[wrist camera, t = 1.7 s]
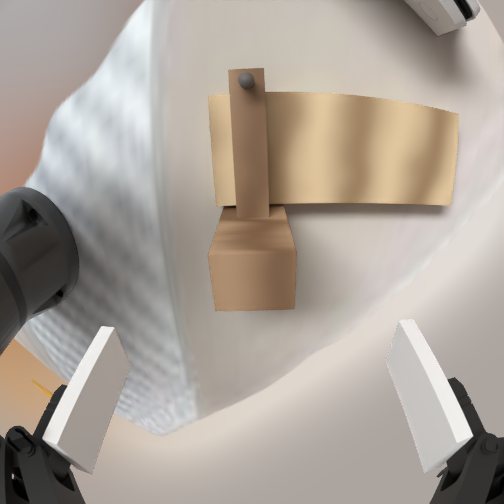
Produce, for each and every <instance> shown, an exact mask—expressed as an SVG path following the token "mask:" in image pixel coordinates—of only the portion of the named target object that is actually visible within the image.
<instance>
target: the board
mask: <svg viewBox="0 0 504 504" xmlns="http://www.w3.org/2000/svg"><path fill="white" fill-rule="evenodd" d="M208 102H209V118H210V133H211V147H212V160H213V173H214V185H215V197H216V206H232V205H236V194H235V179H234V162H233V146H232V129H231V111H230V94H222V95H211V96H208ZM265 104H266V128H267V155H268V186H269V204H291V203H391V204H423V205H446V206H451V200H452V194H453V187H454V179H455V170H456V159H457V146H458V125H459V114H457V113H453V112H449V111H445V110H441V109H437V108H432V107H427V106H423V105H418V104H412V103H407V102H401V101H395V100H388V99H381V98H374V97H365V96H356V95H345V94H332V93H313V92H265Z"/></svg>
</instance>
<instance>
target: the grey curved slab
mask: <svg viewBox="0 0 504 504" xmlns="http://www.w3.org/2000/svg"><path fill="white" fill-rule="evenodd" d="M404 1H405V2H406V3H407V4H408V5H409V6H410V7H411V8H412V9H413V10H414V11H415V12H416V13H417V14H418V15H419V16H420V17H421V19H422V20H423V21H424V22H425V23H426V24H427V25H428V26H429V27H430V28H431V29H432V31H433V32H434V33H435V34H436V35H437V36H439V35H442V34H445V33H447V32H450V31H453V30H456V29H459V28H461V27H464V26H466V24H467V23H466V22H467V21H470V20H472V19H475V17H476V16H477V15H478V13H479V12H480V7H479V4H478V3H477V1H476V0H404Z"/></svg>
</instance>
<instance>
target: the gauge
mask: <svg viewBox="0 0 504 504" xmlns="http://www.w3.org/2000/svg"><path fill="white" fill-rule="evenodd" d="M228 73H229V92H230V111H231V129H232V146H233V162H234V179H235V194H236V205H232V206H224V209H223V212H222V214H221V217H220V220H219V223H218V226H217V229H216V232H215V235H214V238H213V241H212V244H211V247H210V250H209V253H208V260H209V268H210V275H211V283H212V290H213V297H214V304H215V311H252V310H282V309H294V308H295V285H296V256H297V252H296V248H295V245H294V241H293V237H292V234H291V230H290V226H289V223H288V219H287V216H286V212H285V209H284V205H283V204H269V186H268V155H267V128H266V104H265V82H264V68H253V69H235V70H228Z"/></svg>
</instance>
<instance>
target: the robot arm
mask: <svg viewBox="0 0 504 504" xmlns="http://www.w3.org/2000/svg"><path fill="white" fill-rule="evenodd" d="M78 271H79V261H78V253H77V249H76V245H75V241H74V238H73V236H72V233H71V231H70V229H69V227H68V225H67V223H66V221H65V219H64V218H63V216H62V214H61V213H60V212H59V210H58V209H57V208H56V206H55V205H54V204H53V203H52V202H51V201H50V200H49V199H48V198H47V197H45V196H44V195H43V194H41V193H40V192H38V191H36V190H34V189H31V188H26V187H19V188H15V189H13V190H11V191H9V192H7V193H5V194H3V195H1V196H0V355H1V354H2V353H3V351H4V350H5V348H6V347H7V346H8V345H9V343H10V342H11V341H12V339H13V338H14V337H15V335H16V334H17V333H18V331H19V330H20V329H21V328H22V326H23V325H24V324H25V323H26V321H28V320H30V319H31V318H33V317H35V316H37V315H39V314H41V313H43V312H45V311H47V310H49V309H51V308H53V307H55V306H57V305H58V304H60V303H61V302H62V301H63V300H64V299H65V298H66V296H67V295H68V294H69V293H70V292H71V290H72V289H73V288H74V286H75V284H76V281H77V278H78ZM385 362H386V365H387V367H388V370H389V372H390V375H391V377H392V380H393V383H394V385H395V388H396V390H397V393H398V396H399V398H400V401H401V404H402V407H403V409H404V412H405V415H406V418H407V421H408V424H409V427H410V430H411V433H412V435H413V438H414V442H415V445H416V448H417V451H418V454H419V458H420V461H421V464H422V468H423V471H424V473H425V472H428V471H431V470H433V469H436V468H438V467H440V466H441V465H442V464H444V463H445V462H447V467H446V468H445V469H443V470H442V471H441V472H440V473H439V474H438V475H437V477H440V476H441V475H442V474H443V476H442V478H441V480H440V483H439V485H438V487H437V489H436V491H435V494H434V496H433V498H432V500H431V502H430V504H504V437H502V438H497V437H496V436H495V435H493V434H491V433H487V432H486V431H485V429H484V427H483V425H482V423H481V421H480V419H479V417H478V414H477V412H476V410H475V408H474V406H473V404H471V400H470V398H469V396H467V395H468V394H467V392H466V390H465V388H464V386H463V385H462V384H461V383H460V382H459V381H458V380H457V379H456V378H455V377H454V378H451V379H448V380H447V379H446V377H445V375H444V373H443V371H442V369H441V367H440V366H439V364H438V362H437V360H436V358H435V356H434V355H433V353H432V351H431V349H430V348H429V346H428V344H427V342H426V340H425V339H424V337H423V335H422V334H421V332H420V330H419V328H418V327H417V325H416V323H415V322H414V320H413V319H407V320H400V321H399V322H398V325H397V328H396V331H395V334H394V337H393V340H392V343H391V346H390V349H389V352H388V355H387V357H386V360H385ZM130 369H131V364H130V362H129V360H128V357H127V355H126V353H125V351H124V349H123V346H122V344H121V342H120V339H119V337H118V335H117V332H116V330H115V327H105V326H101V328H100V329H99V331H98V333H97V334H96V336H95V338H94V340H93V341H92V343H91V345H90V346H89V348H88V350H87V352H86V353H85V355H84V357H83V359H82V360H81V362H80V364H79V366H78V368H77V369H76V371H75V373H74V375H73V377H72V379H71V380H70V382H69V384H68V386H66V385H61V386H60V387H59V388H58V389H57V390H56V391H55V392H54V394H53V396H52V398H51V400H50V403H48V405H47V407H46V410H45V411H44V413H43V416H42V417H41V419H40V421H39V424H38V426H37V428H36V430H35V432H34V434H33V435H31V434H30V433H29V432H28V431H27V430H26V429H24V427H21V426H14V427H12V428H11V429H9V431H8V432H7V434H6V437H5V439H4V438H3V437H2V436H1V435H0V504H85V501H84V499H83V497H82V495H81V493H80V490H79V488H78V486H77V483H76V481H75V478H74V475H73V473H72V471H71V469H70V468H69V467H70V465H71V464H72V465H73V466H74V467H75V468H77V469H79V470H81V471H84V472H87V473H90V474H92V473H93V469H94V466H95V463H96V460H97V457H98V454H99V451H100V448H101V445H102V442H103V439H104V437H105V433H106V431H107V428H108V426H109V423H110V420H111V417H112V415H113V412H114V409H115V407H116V404H117V401H118V399H119V396H120V394H121V391H122V389H123V386H124V384H125V381H126V379H127V376H128V374H129V371H130ZM12 474H14V479H12Z"/></svg>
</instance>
